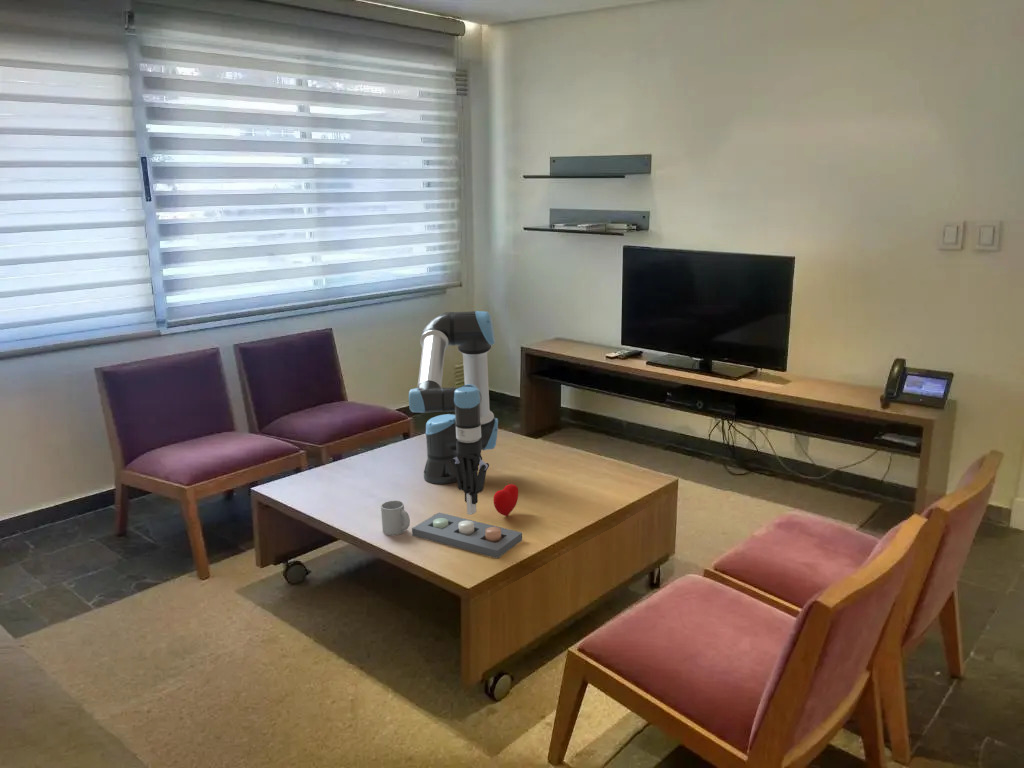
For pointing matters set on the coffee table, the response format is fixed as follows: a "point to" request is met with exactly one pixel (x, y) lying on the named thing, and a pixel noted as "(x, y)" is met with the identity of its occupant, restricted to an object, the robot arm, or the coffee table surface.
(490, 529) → the peach button
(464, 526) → the cream button
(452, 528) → the panel
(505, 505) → the heart
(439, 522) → the sage button
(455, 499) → the coffee table surface
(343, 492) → the coffee table surface
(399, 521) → the cup
